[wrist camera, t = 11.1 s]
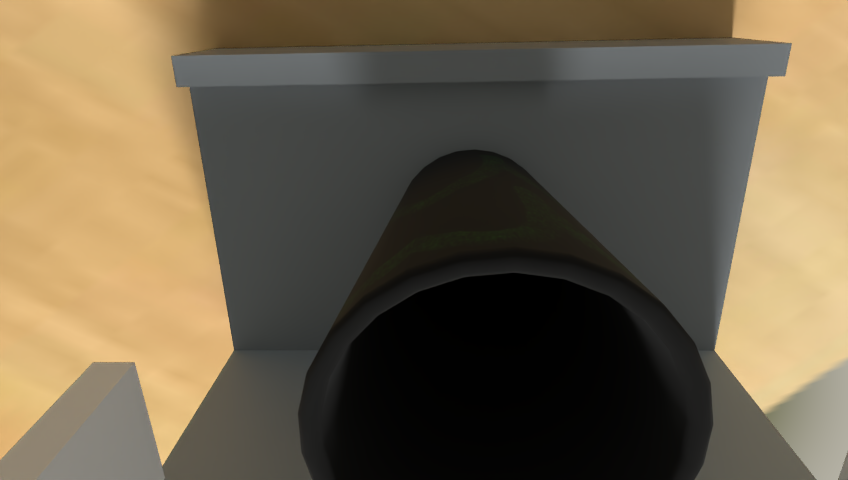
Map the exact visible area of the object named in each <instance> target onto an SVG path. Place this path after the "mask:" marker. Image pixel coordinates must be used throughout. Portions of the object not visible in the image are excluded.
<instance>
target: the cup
mask: <svg viewBox="0 0 848 480" xmlns="http://www.w3.org/2000/svg"><path fill="white" fill-rule="evenodd" d="M298 421H299V432H300V443H301V453H302V455H303V458H304V460H305V463H306V466H307V468H308V471H309V473H310V476H311V478H312V480H695V478H696V477H697V475H698V473H699V471H700V470H701V468H702V466H703V464H704V461H705V457H706V453H707V449H708V444H709V440H710V436H711V432H712V428H713V410H712V394H711V382H710V380H709V377H708V375H707V372H706V370H705V367H704V364H703V362H702V359H701V357H700V354H699V352H698V349H697V347H696V344H695V342H694V341H693V340H692V338H691V337H690V336H689V335H688V333H687V332H686V331H685V330H684V328H683V327H682V326H681V325H680V323H679V322H678V321H677V320H676V318H675V317H674V316H673V315H672V314H671V312H670V311H669V310H668V309H667V307H666V306H665V305H664V304H663V303H662V302H661V301H660V300H659V299H658V298H657V297H656V296H655V295H654V294H653V293H652V292H651V291H650V290H649V289H647V288H646V287H645V286H644V285H643V284H642V283H641V282H640V281H639V280H638V279H637V278H636V277H635V276H634V275H633V274H632V273H631V272H630V271H629V270H628V269H627V268H626V267H625V266H624V265H623V264H622V263H621V262H620V261H619V260H618V259H617V258H616V257H615V256H614V255H612V254H611V253H610V252H609V251H608V250H607V249H606V248H605V247H604V246H603V245H602V244H601V243H600V242H599V241H598V240H597V239H596V238H595V237H594V236H593V235H592V234H591V233H590V232H589V231H588V230H587V229H586V228H585V227H584V226H583V225H582V224H581V223H580V222H579V221H578V220H576V219H575V218H574V217H573V216H572V215H571V214H570V213H569V212H568V211H567V210H566V209H565V208H564V207H563V206H562V205H561V204H560V203H559V202H558V201H557V200H556V199H555V198H554V197H553V196H552V195H551V194H550V193H549V192H548V191H547V190H546V189H545V188H544V187H543V186H541V185H540V184H539V183H538V182H537V181H536V180H535V179H534V178H533V177H532V176H531V175H530V174H529V173H528V172H527V171H526V170H525V169H524V168H522V167H521V166H520V165H518V164H517V163H516V162H514V161H513V160H511V159H510V158H507V157H505V156H502V155H500V154H497V153H495V152H490V151H483V150H476V149H474V150H464V151H456V152H453V153H450V154H447V155H445V156H442V157H439V158H438V159H436V160H434V161H433V162H431V163H430V164H428V165H427V166H425V167H424V168H423V169H422V170H421V171H420V172H419V173H418V174H417V175H416V176H415V177H414V179H413V180H412V181H411V183H410V185H409V186H408V188H407V190H406V192H405V194H404V196H403V197H402V199H401V201H400V203H399V205H398V206H397V208H396V210H395V212H394V214H393V216H392V217H391V219H390V221H389V223H388V225H387V227H386V228H385V230H384V232H383V234H382V236H381V238H380V239H379V241H378V243H377V245H376V247H375V248H374V250H373V252H372V254H371V256H370V258H369V259H368V261H367V263H366V265H365V267H364V269H363V270H362V272H361V274H360V276H359V278H358V280H357V281H356V283H355V285H354V287H353V289H352V290H351V292H350V294H349V296H348V298H347V300H346V301H345V303H344V305H343V307H342V309H341V311H340V312H339V314H338V316H337V318H336V320H335V322H334V323H333V325H332V327H331V329H330V331H329V332H328V334H327V336H326V338H325V340H324V342H323V343H322V345H321V347H320V349H319V351H318V353H317V354H316V356H315V358H314V360H313V362H312V364H311V365H310V367H309V369H308V371H307V373H306V377H305V382H304V386H303V391H302V396H301V401H300V405H299V410H298Z"/></svg>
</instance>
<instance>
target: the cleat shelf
mask: <svg viewBox="0 0 848 480" xmlns="http://www.w3.org/2000/svg"><path fill="white" fill-rule="evenodd" d="M791 45H792V43H782V42H772V41H762V40H751V39H741V38H695V39H647V40H599V41H551V42H503V43H454V44H406V45H358V46H310V47H262V48H216V49H210V50H204V51H198V52H192V53H186V54H180V55H174V56H171V58H172V64H173V70H174V75H175V81H176V86H177V87H190V93H191V99H192V104H193V110H194V116H195V122H196V128H197V134H198V140H199V146H200V152H201V157H202V163H203V169H204V175H205V181H206V187H207V193H208V199H209V205H210V210H211V216H212V222H213V228H214V234H215V240H216V246H217V252H218V258H219V264H220V269H221V275H222V281H223V287H224V293H225V299H226V305H227V311H228V317H229V322H230V328H231V334H232V340H233V346H234V351H233V353H232V355H231V356H230V358H229V360H228V361H227V363H226V364H225V366H224V368H223V369H222V371H221V372H220V374H219V376H218V377H217V379H216V381H215V382H214V384H213V385H212V387H211V389H210V390H209V392H208V393H207V395H206V397H205V398H204V400H203V402H202V403H201V405H200V406H199V408H198V410H197V411H196V413H195V414H194V416H193V418H192V419H191V421H190V423H189V424H188V426H187V427H186V429H185V431H184V432H183V434H182V435H181V437H180V439H179V440H178V442H177V444H176V445H175V447H174V448H173V450H172V452H171V453H170V455H169V456H168V458H167V460H166V461H165V463H164V465H163V466H162V468H163V472H164V476H165V478H164V480H312V478H311V476H310V473H309V471H308V468H307V466H306V463H305V460H304V458H303V455H302V453H301V443H300V432H299V421H298V410H299V405H300V401H301V396H302V391H303V386H304V382H305V377H306V373H307V371H308V369H309V367H310V365H311V364H312V362H313V360H314V358H315V356H316V354H317V353H318V351H319V349H320V347H321V345H322V343H323V342H324V340H325V338H326V336H327V334H328V332H329V331H330V329H331V327H332V325H333V323H334V322H335V320H336V318H337V316H338V314H339V312H340V311H341V309H342V307H343V305H344V303H345V301H346V300H347V298H348V296H349V294H350V292H351V290H352V289H353V287H354V285H355V283H356V281H357V280H358V278H359V276H360V274H361V272H362V270H363V269H364V267H365V265H366V263H367V261H368V259H369V258H370V256H371V254H372V252H373V250H374V248H375V247H376V245H377V243H378V241H379V239H380V238H381V236H382V234H383V232H384V230H385V228H386V227H387V225H388V223H389V221H390V219H391V217H392V216H393V214H394V212H395V210H396V208H397V206H398V205H399V203H400V201H401V199H402V197H403V196H404V194H405V192H406V190H407V188H408V186H409V185H410V183H411V181H412V180H413V179H414V177H415V176H416V175H417V174H418V173H419V172H420V171H421V170H422V169H423V168H424V167H425V166H427V165H428V164H430V163H431V162H433V161H434V160H436V159H438V158H439V157H442V156H445V155H447V154H450V153H453V152H456V151H464V150H474V149H476V150H483V151H490V152H495V153H497V154H500V155H502V156H505V157H507V158H510V159H511V160H513V161H514V162H516V163H517V164H518V165H520V166H521V167H522V168H524V169H525V170H526V171H527V172H528V173H529V174H530V175H531V176H532V177H533V178H534V179H535V180H536V181H537V182H538V183H539V184H540V185H541V186H543V187H544V188H545V189H546V190H547V191H548V192H549V193H550V194H551V195H552V196H553V197H554V198H555V199H556V200H557V201H558V202H559V203H560V204H561V205H562V206H563V207H564V208H565V209H566V210H567V211H568V212H569V213H570V214H571V215H572V216H573V217H574V218H575V219H576V220H578V221H579V222H580V223H581V224H582V225H583V226H584V227H585V228H586V229H587V230H588V231H589V232H590V233H591V234H592V235H593V236H594V237H595V238H596V239H597V240H598V241H599V242H600V243H601V244H602V245H603V246H604V247H605V248H606V249H607V250H608V251H609V252H610V253H611V254H612V255H614V256H615V257H616V258H617V259H618V260H619V261H620V262H621V263H622V264H623V265H624V266H625V267H626V268H627V269H628V270H629V271H630V272H631V273H632V274H633V275H634V276H635V277H636V278H637V279H638V280H639V281H640V282H641V283H642V284H643V285H644V286H645V287H646V288H647V289H649V290H650V291H651V292H652V293H653V294H654V295H655V296H656V297H657V298H658V299H659V300H660V301H661V302H662V303H663V304H664V305H665V306H666V307H667V309H668V310H669V311H670V312H671V314H672V315H673V316H674V317H675V318H676V320H677V321H678V322H679V323H680V325H681V326H682V327H683V328H684V330H685V331H686V332H687V333H688V335H689V336H690V337H691V338H692V340H693V341H694V342H695V344H696V347H697V349H698V352H699V354H700V357H701V359H702V362H703V364H704V367H705V370H706V372H707V375H708V377H709V380H710V382H711V394H712V410H713V428H712V432H711V436H710V440H709V444H708V449H707V453H706V457H705V461H704V464H703V466H702V468H701V470H700V471H699V473H698V475H697V477H696V478H695V480H816V479H815V477H814V476H813V475H812V474H811V472H810V471H809V470H808V468H807V467H806V466H805V465H804V464H803V462H802V461H801V460H800V458H799V457H798V456H797V455H796V453H795V452H794V451H793V449H792V448H791V447H790V446H789V444H788V443H787V442H786V441H785V439H784V438H783V437H782V436H781V434H780V433H779V432H778V431H777V429H776V428H775V427H774V426H773V424H772V423H771V422H770V420H769V419H768V418H767V417H766V415H765V414H764V413H763V412H762V410H761V409H760V408H759V406H758V405H757V404H756V403H755V401H754V400H753V399H752V398H751V396H750V395H749V394H748V393H747V391H746V390H745V389H744V388H743V386H742V385H741V384H740V382H739V381H738V380H737V379H736V377H735V376H734V375H733V374H732V372H731V371H730V370H729V369H728V367H727V366H726V365H725V363H724V362H723V361H722V360H721V358H720V357H719V356H718V355H717V353H716V352H715V351H714V349H715V344H716V339H717V334H718V329H719V324H720V319H721V314H722V309H723V304H724V298H725V293H726V288H727V283H728V278H729V273H730V268H731V263H732V258H733V253H734V248H735V242H736V237H737V232H738V227H739V222H740V217H741V212H742V207H743V202H744V197H745V191H746V186H747V181H748V176H749V171H750V166H751V161H752V156H753V151H754V146H755V141H756V135H757V130H758V125H759V120H760V115H761V110H762V105H763V100H764V95H765V90H766V84H767V79H768V76H785V74H786V69H787V64H788V59H789V55H790V50H791Z"/></svg>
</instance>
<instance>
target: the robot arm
mask: <svg viewBox="0 0 848 480" xmlns="http://www.w3.org/2000/svg"><path fill="white" fill-rule="evenodd" d="M164 478H165V476H164V472H163V468H162V464H161V460H160V457H159V453H158V449H157V445H156V442H155V438H154V434H153V430H152V427H151V423H150V419H149V415H148V411H147V408H146V404H145V400H144V396H143V393H142V389H141V385H140V381H139V378H138V374H137V370H136V366H135V362H93V363H92V364H91V365H90V366H89V367H88V368H87V369H86V370H85V371H84V373H83V374H82V375H81V376H80V377H79V378H78V379H77V380H76V381H75V382H74V383H73V384H72V385H71V386H70V387H69V388H68V389H67V390H66V391H65V392H64V394H63V395H62V396H61V397H60V398H59V399H58V400H57V401H56V402H55V403H54V404H53V405H52V406H51V407H50V408H49V409H48V410H47V411H46V412H45V414H44V415H43V416H42V417H41V418H40V419H39V420H38V421H37V422H36V423H35V424H34V425H33V426H32V427H31V428H30V429H29V430H28V431H27V432H26V434H25V435H24V436H23V437H22V438H21V439H20V440H19V441H18V442H17V443H16V444H15V445H14V446H13V447H12V448H11V449H10V450H9V451H8V452H7V454H6V455H5V456H4V457H3V458H2V459H1V460H0V480H164ZM838 480H848V453H847V455H846V458H845V461H844V464H843V467H842V470H841V473H840V476H839V478H838Z"/></svg>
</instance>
